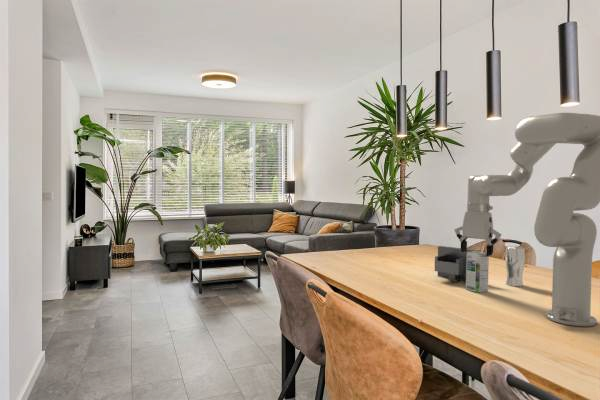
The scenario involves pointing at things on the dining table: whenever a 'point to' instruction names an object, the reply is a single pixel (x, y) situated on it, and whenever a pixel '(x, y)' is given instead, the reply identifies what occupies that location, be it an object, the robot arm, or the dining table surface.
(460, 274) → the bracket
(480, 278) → the syrup box
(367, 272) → the dining table surface
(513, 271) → the beer glass
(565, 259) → the robot arm
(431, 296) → the dining table surface
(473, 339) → the dining table surface
